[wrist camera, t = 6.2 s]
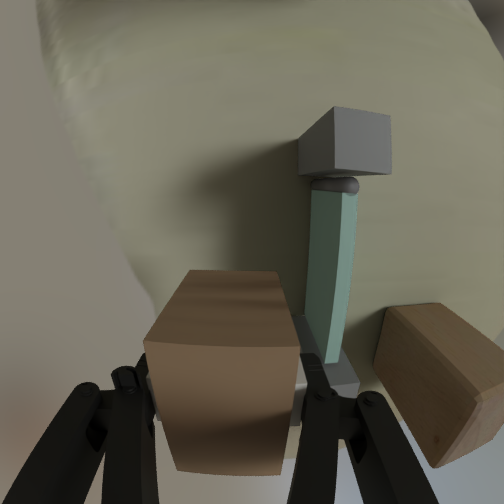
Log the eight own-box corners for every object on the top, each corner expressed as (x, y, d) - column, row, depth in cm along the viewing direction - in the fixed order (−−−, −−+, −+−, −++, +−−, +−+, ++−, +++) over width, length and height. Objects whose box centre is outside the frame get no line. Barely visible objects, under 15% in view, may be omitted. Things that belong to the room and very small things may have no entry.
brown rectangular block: (190, 269, 16) (142, 340, 8) (276, 271, 16) (300, 346, 8) (198, 379, 18) (177, 470, 10) (270, 380, 18) (280, 475, 10)
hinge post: (298, 138, 28) (334, 106, 15) (334, 141, 28) (390, 115, 15) (297, 175, 28) (334, 168, 16) (333, 177, 29) (391, 174, 16)
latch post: (291, 315, 32) (313, 387, 20) (324, 315, 32) (360, 382, 20) (289, 344, 33) (307, 419, 20) (320, 343, 33) (350, 414, 21)
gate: (310, 178, 28) (341, 175, 18) (323, 179, 28) (359, 177, 18) (303, 313, 32) (323, 363, 22) (315, 313, 32) (338, 362, 22)
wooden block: (369, 367, 34) (429, 474, 15) (383, 304, 32) (479, 403, 13) (423, 358, 35) (492, 442, 15) (440, 299, 32) (535, 372, 13)
